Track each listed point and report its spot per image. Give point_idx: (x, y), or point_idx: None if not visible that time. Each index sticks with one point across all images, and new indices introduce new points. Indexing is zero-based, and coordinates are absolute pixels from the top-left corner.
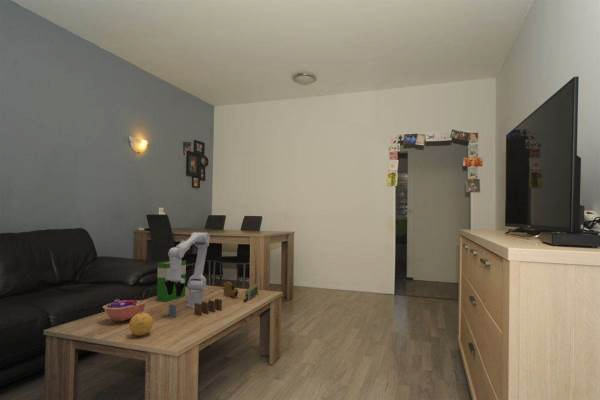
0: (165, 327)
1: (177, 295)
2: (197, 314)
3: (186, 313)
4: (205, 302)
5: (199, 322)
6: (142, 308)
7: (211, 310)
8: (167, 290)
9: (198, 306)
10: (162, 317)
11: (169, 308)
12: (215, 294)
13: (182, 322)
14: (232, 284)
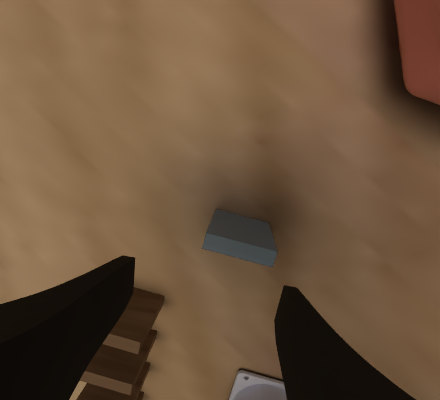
0: (98, 38)
1: (113, 261)
2: (133, 290)
3: (210, 289)
4: (95, 377)
5: (29, 198)
6: (415, 62)
7: None
8: (316, 317)
9: None
10: (272, 175)
11: (269, 237)
12: None
13: (97, 157)
14: None
